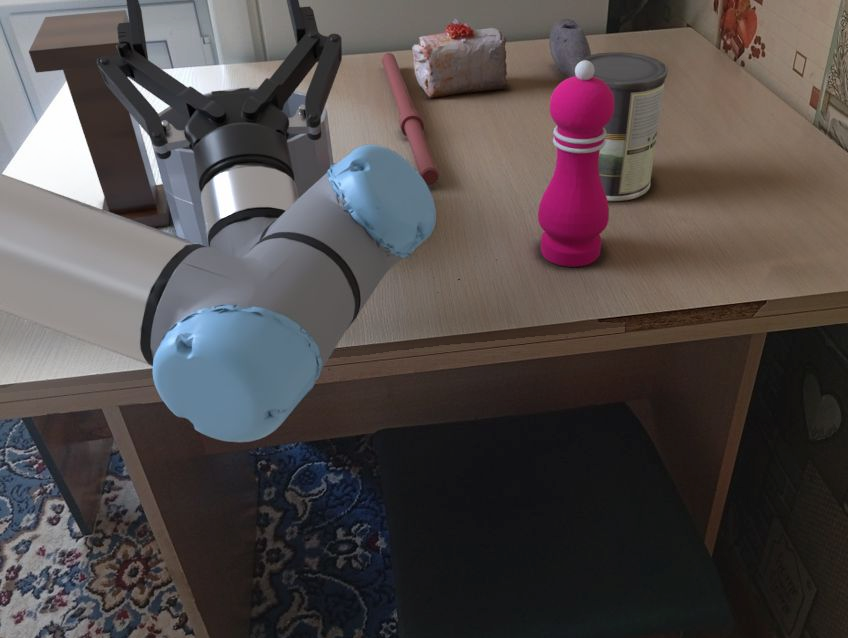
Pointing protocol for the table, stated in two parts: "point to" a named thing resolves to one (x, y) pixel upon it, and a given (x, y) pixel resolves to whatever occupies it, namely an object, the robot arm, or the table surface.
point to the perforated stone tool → (567, 45)
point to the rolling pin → (410, 121)
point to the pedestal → (102, 112)
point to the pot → (183, 182)
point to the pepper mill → (576, 170)
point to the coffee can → (629, 121)
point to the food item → (460, 61)
